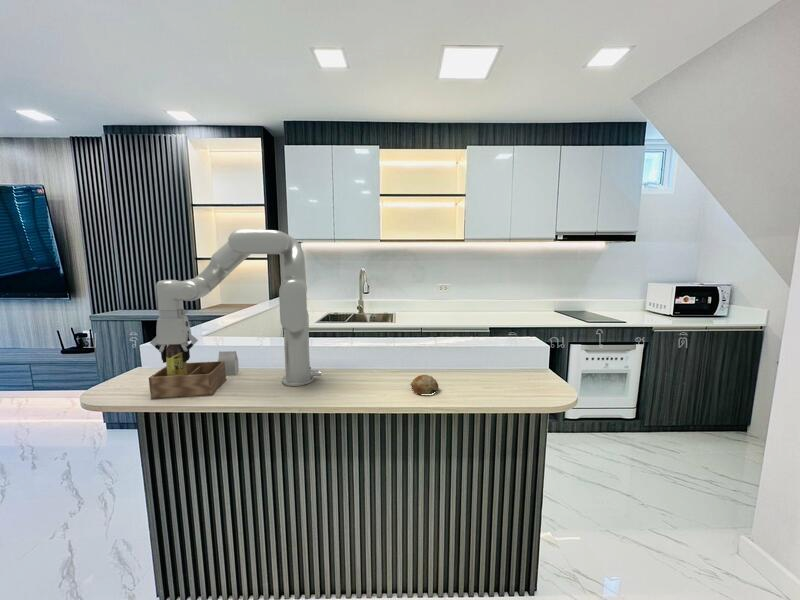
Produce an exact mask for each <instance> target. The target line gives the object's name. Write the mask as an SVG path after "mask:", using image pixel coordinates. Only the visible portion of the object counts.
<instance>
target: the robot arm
mask: <svg viewBox="0 0 800 600" xmlns="http://www.w3.org/2000/svg"><path fill="white" fill-rule="evenodd" d="M227 240H228V241H227V242H226V243H224V244H223V245H222V246H221V247H220V248H219V249H218V250H217V251H215V252H214V253H213V254H212V255H211V257H210V262H209V264H208V265H207V266H206V267H205V268H204V269H203V270H202V271H201V272H200V273H199V274H198V275H196V276H195V277H194V278H191V279H186V280H181V281H180V280H177V279H164V280H163V279H162V280H159V281H157V282H156V284H155V286H156V296H157V297H156V298H157V307H158V318H157V320H156V327H155V328H156V333H155V334H156V336H155V337H154V338H153V339H152V340H151V341H150V342H149V343H150V345H152V346H153V347H154V348H155V349H156V350H157V351H158V352H159V353H160V355H161V360H162V363H163V364H166V348H167V347H168V345H180V344H181V346H182V348H183V350H184V351H183V362H186V363H187V362H188V361H189V360H190V358H191V357H190V355H191V354H190V349H191V348H193V347H194V346H195V344H196V343H197V342H198V341H199V340H198V338H196V337H195V336H194V335H192V330H191V325H190V321H189V318H188V316H187V315H188V313H189V311H188V310H185V308H184V301H185V302H186V301H187V302H192V301H193V302H194V301H196V300H199V299H201V298H204V297H206V296H207V295H208V294H210V292H212V291H213V290H214V289H215V288H216V287H218V286H219V285H220V284H221V283H222V282H223V281H224V280H225V279H226V278H227V277H228V276H229V275H230V274H231V273H232V272H233V271H234V270H235V269H236V268H237V267H239V266H240V265H241V263H243V262H244V261H245V260H246V259H247V258H248V257H250V256H251V255H279V256H280V257H281V263H282V265H281V267H282V283H281V284H280V286H279V293H278V299H279V301H278V302H279V321H280V325H281V327H282V328H283V341H284V342H283V344H284V345H283V346H284V368H285V375H284V376H283V377H282V379H281V383H282V384H283V385H284V386H288V387H299V386H305V384H306V385H308V384H311V383H312V382H313V381H314V380H315V377H321V376H322V371H320V370H319V369H314V370H313V369H312V366H311V365H310V364H311V363H310V332H309V331H310V329H309V328H310V326H309V323H310V319H309V311H308V306H307V305H308V303H307V302H308V301H307V292H308V287H307V286H308V285H307V276H306V275H307V274H306V260H305V253H304V251H303V248H302V246H301V245H300V244H301V243H299V242H298V240H297V239H295V238H294V237H292V236H291V235H290V234H287V233H286V232H283V231H281V230H276V229H274V230H273V229H245V228H244V229H243V228H242V229H241V228H240V229H235V230H233V231H232V232H231V233H230V234H229V236H228V239H227ZM185 315H186V316H185ZM190 341H191V342H190ZM189 342H190V343H189Z"/></svg>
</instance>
